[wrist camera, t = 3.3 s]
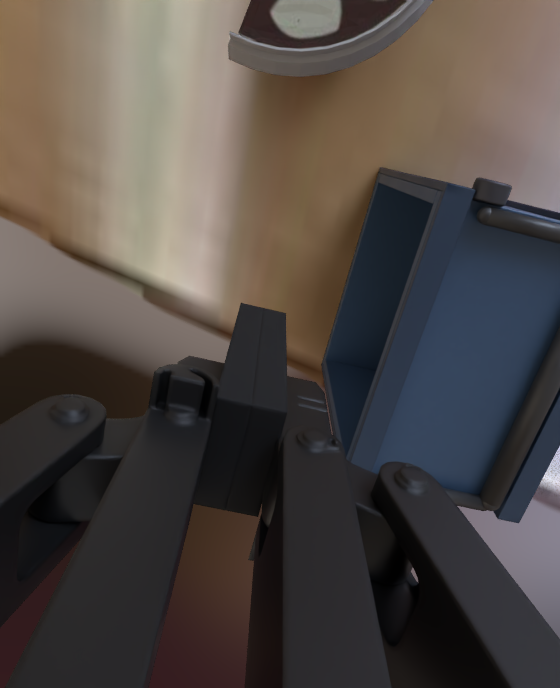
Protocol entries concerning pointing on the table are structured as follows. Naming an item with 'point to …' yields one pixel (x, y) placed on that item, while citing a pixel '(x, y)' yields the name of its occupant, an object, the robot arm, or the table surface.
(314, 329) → the table surface
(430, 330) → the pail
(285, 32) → the food container
